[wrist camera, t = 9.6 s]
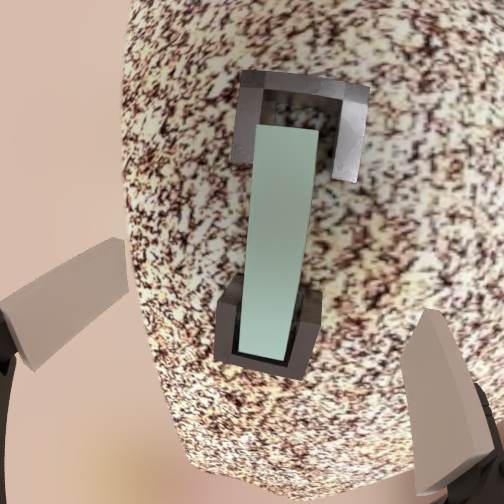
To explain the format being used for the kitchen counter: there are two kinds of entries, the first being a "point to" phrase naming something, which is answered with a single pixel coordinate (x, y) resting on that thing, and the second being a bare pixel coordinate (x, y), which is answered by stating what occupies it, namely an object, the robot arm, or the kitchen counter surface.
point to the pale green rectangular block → (276, 236)
